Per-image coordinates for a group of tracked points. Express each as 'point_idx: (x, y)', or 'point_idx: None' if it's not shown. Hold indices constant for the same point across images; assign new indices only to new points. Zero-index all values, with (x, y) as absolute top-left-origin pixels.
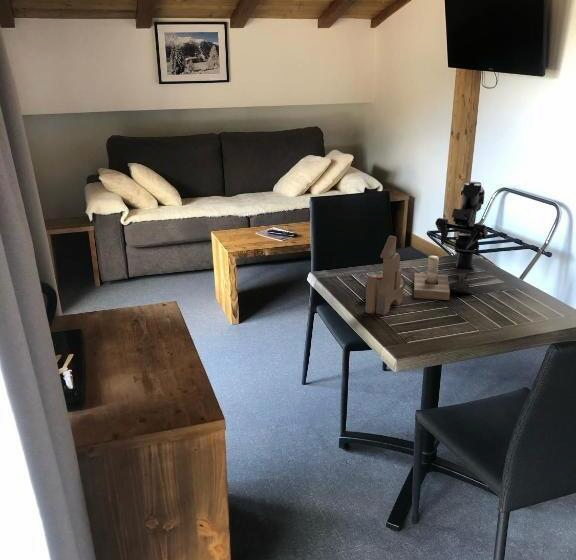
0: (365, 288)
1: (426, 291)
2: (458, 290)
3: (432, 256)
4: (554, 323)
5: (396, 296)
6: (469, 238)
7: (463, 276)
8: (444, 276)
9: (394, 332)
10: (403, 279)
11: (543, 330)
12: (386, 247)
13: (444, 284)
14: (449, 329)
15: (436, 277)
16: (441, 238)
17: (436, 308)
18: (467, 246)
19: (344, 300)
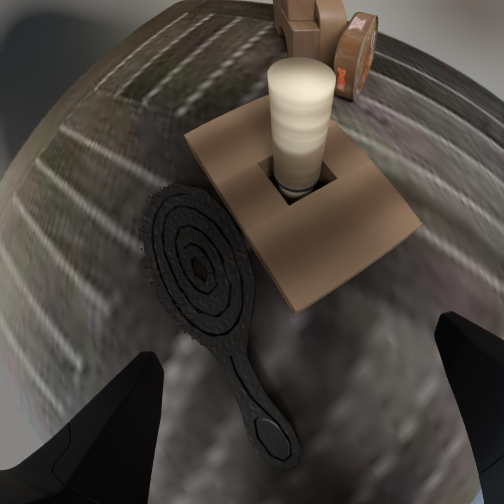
0: (375, 34)
1: (258, 101)
2: (171, 187)
3: (316, 79)
4: None
5: (284, 29)
6: (81, 446)
7: (240, 392)
8: (295, 280)
9: (219, 13)
10: (334, 57)
11: (6, 176)
12: None
13: (237, 182)
14: (141, 59)
15: (273, 154)
16: (499, 338)
17: (199, 93)
18: (127, 372)
19: (384, 39)
